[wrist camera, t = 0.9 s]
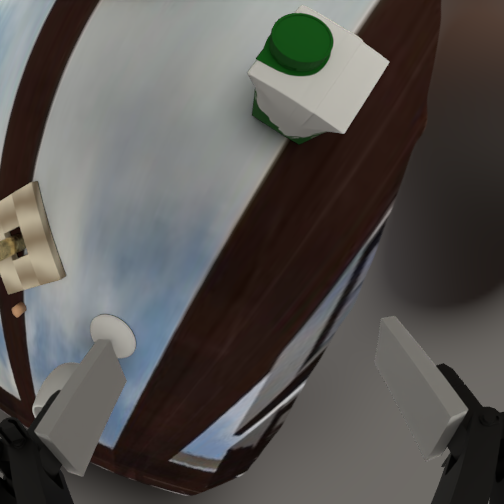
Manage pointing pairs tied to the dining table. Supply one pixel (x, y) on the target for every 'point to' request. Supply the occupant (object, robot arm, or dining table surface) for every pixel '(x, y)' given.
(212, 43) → the dining table surface
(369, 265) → the dining table surface
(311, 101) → the milk carton
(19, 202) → the light wooden flat board
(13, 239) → the post
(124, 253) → the dining table surface
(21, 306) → the dowel
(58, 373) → the wineglass
